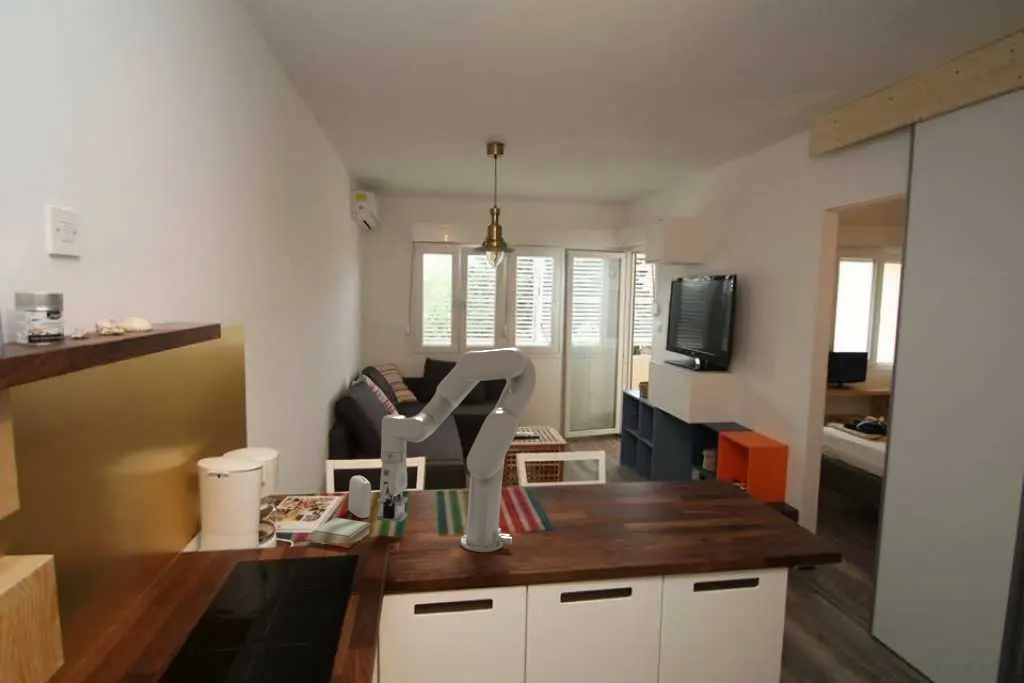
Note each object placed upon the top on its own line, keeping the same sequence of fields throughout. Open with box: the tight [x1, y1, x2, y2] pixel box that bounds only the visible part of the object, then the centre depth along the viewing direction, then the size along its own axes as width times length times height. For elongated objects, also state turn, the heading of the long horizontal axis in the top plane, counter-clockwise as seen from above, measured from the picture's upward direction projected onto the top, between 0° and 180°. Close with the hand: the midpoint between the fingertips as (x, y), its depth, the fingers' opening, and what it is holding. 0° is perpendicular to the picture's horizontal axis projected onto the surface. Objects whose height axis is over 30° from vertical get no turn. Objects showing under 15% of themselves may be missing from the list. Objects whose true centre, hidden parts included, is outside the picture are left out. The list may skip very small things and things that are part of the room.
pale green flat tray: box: [310, 517, 371, 545], centre depth 156 cm, size 12×12×3 cm
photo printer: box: [347, 475, 372, 519], centre depth 176 cm, size 10×4×12 cm, turn 39°
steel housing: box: [376, 496, 409, 523], centre depth 161 cm, size 8×5×6 cm, turn 78°
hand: (392, 514), depth 161 cm, fingers closed on steel housing, 5 cm apart
